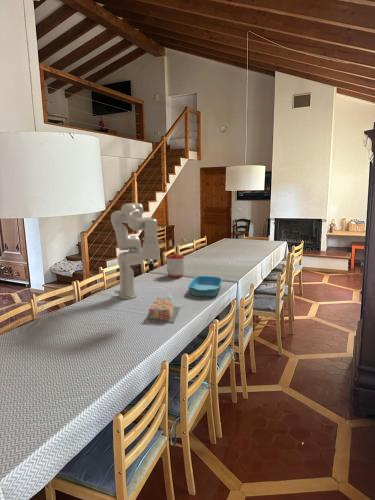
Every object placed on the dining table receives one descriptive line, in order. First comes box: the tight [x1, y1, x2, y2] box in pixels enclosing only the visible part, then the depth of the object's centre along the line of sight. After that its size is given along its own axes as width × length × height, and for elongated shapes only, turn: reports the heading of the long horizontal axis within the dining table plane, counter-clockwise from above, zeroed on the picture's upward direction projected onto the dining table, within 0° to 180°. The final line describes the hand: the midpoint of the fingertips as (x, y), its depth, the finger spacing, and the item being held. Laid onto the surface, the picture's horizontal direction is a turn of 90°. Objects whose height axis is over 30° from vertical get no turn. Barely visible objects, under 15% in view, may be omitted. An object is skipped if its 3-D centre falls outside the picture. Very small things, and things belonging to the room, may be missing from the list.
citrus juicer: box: [164, 252, 186, 278], centre depth 306 cm, size 16×17×20 cm
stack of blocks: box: [148, 297, 174, 320], centre depth 219 cm, size 21×6×12 cm
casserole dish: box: [187, 275, 223, 298], centre depth 266 cm, size 37×22×7 cm, turn 167°
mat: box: [149, 306, 181, 324], centre depth 219 cm, size 14×26×1 cm, turn 173°
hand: (151, 269), depth 217 cm, fingers closed
